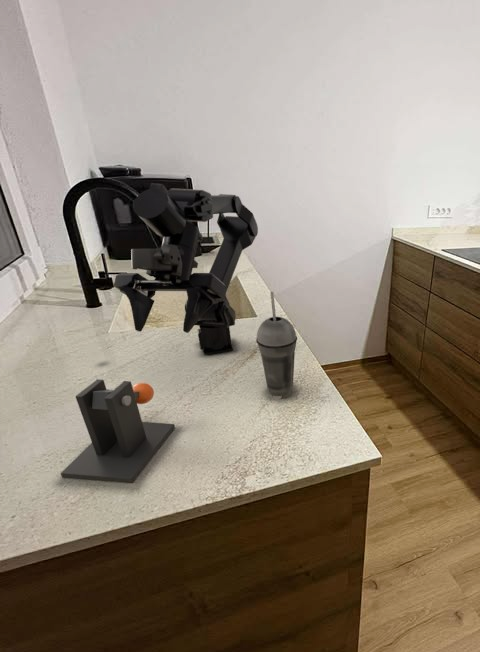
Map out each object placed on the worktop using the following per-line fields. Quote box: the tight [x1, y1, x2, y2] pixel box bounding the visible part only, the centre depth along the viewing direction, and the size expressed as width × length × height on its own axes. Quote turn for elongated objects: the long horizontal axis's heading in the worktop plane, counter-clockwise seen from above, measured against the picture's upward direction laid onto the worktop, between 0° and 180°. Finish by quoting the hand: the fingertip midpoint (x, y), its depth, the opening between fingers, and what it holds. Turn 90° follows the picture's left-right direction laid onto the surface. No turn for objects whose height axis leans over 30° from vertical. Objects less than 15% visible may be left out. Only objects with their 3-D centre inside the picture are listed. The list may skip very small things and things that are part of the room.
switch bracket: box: [60, 378, 176, 484], centre depth 56 cm, size 12×10×12 cm
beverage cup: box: [255, 291, 298, 400], centre depth 70 cm, size 7×7×20 cm
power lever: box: [92, 382, 155, 410], centre depth 58 cm, size 11×3×3 cm, turn 176°
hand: (161, 331), depth 67 cm, fingers open, 9 cm apart
